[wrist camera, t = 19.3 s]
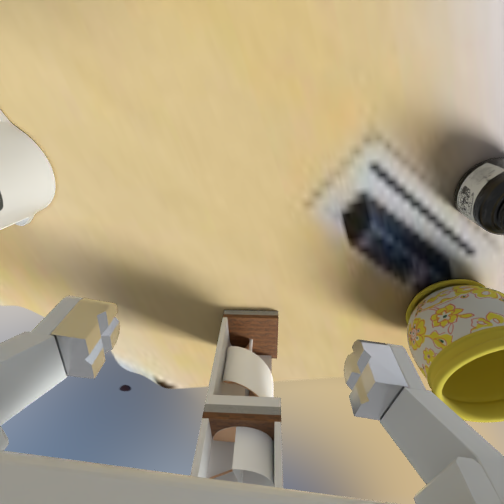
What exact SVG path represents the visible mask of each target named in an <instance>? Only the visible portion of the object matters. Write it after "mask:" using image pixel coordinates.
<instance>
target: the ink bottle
mask: <svg viewBox="0 0 504 504" xmlns="http://www.w3.org/2000/svg"><path fill="white" fill-rule="evenodd" d="M455 205H456V207H457V209H458V210H459V212H461V213H462V214H463V215H464V216H466V217H467V218H469V219H470V220H472V221H473V222H474V223H476V224H477V225H479V226H480V227H482V228H483V229H485V230H486V231H488V232H490V233H493V234H497V235H504V158H495V159H490V160H487V161H484V162H482V163H480V164H478V165H476V166H474V167H473V168H471V169H470V170H469V171H468V172H467V173H466V174H465V175H464V176H463V177H462V179H461V180H460V182H459V184H458V186H457V188H456V192H455Z"/></svg>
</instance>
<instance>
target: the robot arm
mask: <svg viewBox="0 0 504 504" xmlns="http://www.w3.org/2000/svg"><path fill="white" fill-rule="evenodd" d="M55 187H56V186H55V177H54V173H53V170H52V167H51V165H50V163H49V161H48V159H47V158H46V156H45V154H44V153H43V152H42V150H41V149H40V148H39V146H38V145H37V144H36V143H35V142H34V141H33V140H32V139H31V138H30V137H29V136H28V135H26V134H25V133H24V132H23V131H21V130H20V129H18V128H17V127H16V126H14V125H13V124H12V123H11V122H10V121H9V120H8V119H7V117H6V116H5V115H4V113H3V112H2V111H1V110H0V230H1V229H4V228H6V227H8V226H11V225H13V224H16V225H20V226H24V225H26V224H29V223H30V222H31V220H32V219H33V217H34V215H35V214H36V213H37V212H38V211H40V210H42V209H44V208H46V207H47V206H48V205H49V204H50V203H51V201H52V199H53V197H54V194H55ZM117 312H118V309H117V304H115V303H111V302H105V301H100V300H94V299H88V298H81V297H75V296H70V295H69V296H67V297H64V298H63V299H62V300H61V301H60V302H59V303H58V304H57V305H56V306H55V308H54V309H53V310H52V311H51V312H50V313H49V314H48V315H47V316H46V317H45V318H44V319H43V320H42V321H41V322H40V323H39V324H38V325H37V326H36V327H35V328H34V329H33V330H32V331H31V332H24V333H22V334H19V335H17V336H15V337H13V338H11V339H8V340H6V341H4V342H2V343H0V504H394V503H387V502H379V501H373V500H365V499H358V498H350V497H342V496H336V495H328V494H321V493H313V492H306V491H299V490H291V489H284V488H276V487H269V486H262V485H254V484H247V483H239V482H232V481H225V480H217V479H210V478H202V477H195V476H187V475H180V474H173V473H165V472H158V471H150V470H143V469H135V468H128V467H121V466H113V465H106V464H99V463H91V462H84V461H76V460H69V459H61V458H54V457H47V456H39V455H32V454H23V453H16V452H9V451H4V449H5V448H6V447H7V445H8V444H9V442H8V437H7V436H6V434H5V432H4V431H3V429H2V428H1V425H2V424H4V423H5V422H6V421H8V420H9V419H10V418H12V417H13V416H14V415H16V414H17V413H19V412H20V411H21V410H23V409H24V408H25V407H27V406H28V405H30V404H31V403H32V402H34V401H35V400H37V399H38V398H39V397H40V396H42V395H43V394H45V393H46V392H47V391H49V390H50V389H52V388H53V387H54V386H56V385H57V384H58V383H60V382H61V381H63V380H64V379H65V378H67V376H74V377H83V378H91V379H95V377H96V376H97V374H98V372H99V371H100V369H101V367H102V366H103V364H104V362H105V356H104V354H105V353H107V352H109V351H110V350H112V349H113V347H114V345H115V344H116V342H117V339H118V335H119V330H120V324H119V321H118V320H117V319H116V317H115V315H116V314H117ZM352 349H353V353H351V354H350V355H348V356H347V358H346V361H345V365H344V377H345V381H346V384H347V385H348V386H349V388H350V389H351V390H352V392H351V393H350V395H349V398H350V402H351V406H352V409H353V414H354V416H357V417H362V418H368V419H374V420H380V423H381V424H382V426H383V427H384V428H385V430H386V431H387V432H388V434H389V435H390V436H391V438H392V439H393V440H394V442H395V443H396V444H397V446H398V447H399V448H400V450H401V451H402V452H403V454H404V455H405V457H406V458H407V459H408V460H409V462H410V463H411V465H412V466H413V467H414V468H415V470H416V471H417V473H418V474H419V475H420V477H421V478H422V479H423V481H424V482H425V483H426V486H425V487H423V488H422V489H421V490H420V491H419V492H418V493H417V494H416V495H415V497H414V500H415V503H416V504H504V456H503V455H502V454H501V453H500V452H498V451H497V450H496V449H495V448H494V447H493V446H492V445H491V444H490V443H488V442H487V441H486V440H485V439H484V438H483V437H482V436H481V435H479V434H478V433H477V432H476V431H475V430H474V429H473V428H472V427H470V426H469V425H468V424H467V423H466V422H465V421H464V420H463V419H462V418H460V417H459V416H458V415H457V414H456V413H455V412H454V411H453V410H451V409H450V408H449V407H448V406H447V405H446V404H445V403H444V402H443V401H441V400H440V399H439V398H438V397H437V396H436V395H435V394H434V393H432V392H431V391H428V390H426V389H425V387H424V385H423V383H422V381H421V379H420V377H419V375H418V373H417V371H416V369H415V367H414V365H413V363H412V361H411V359H410V357H409V356H408V354H407V352H406V350H405V348H404V347H403V346H400V345H393V344H385V343H379V342H372V341H365V340H356V341H355V342H354V344H353V346H352Z"/></svg>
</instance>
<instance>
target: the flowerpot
mask: <svg viewBox="0 0 504 504" xmlns="http://www.w3.org/2000/svg"><path fill="white" fill-rule="evenodd" d="M406 323H407V325H408V328H407V338H408V344H409V348H410V351H411V353H412V356H413V358H414V360H415V362H416V363H417V365H418V367H419V369H420V370H421V372H422V373H423V374H424V376H425V377H426V379H427V380H428V384H429V386H430V388H431V389H432V393H434V394H435V395H436V396H437V397H438V398H439V399H440V400H441V401H443V402H444V403H445V404H446V405H447V406H448V407H449V408H450V409H451V410H453V411H454V412H455V413H456V414H457V415H458V416H459V417H460V418H462V419H463V420H466V421H472V422H500V421H504V294H503V293H501V292H498V291H496V290H493V289H489V288H486V287H485V286H484V285H482V284H480V283H478V282H476V281H472V280H466V279H453V280H445V281H440V282H437V283H434V284H432V285H430V286H428V287H426V288H424V289H423V290H422V291H420V292H419V293H418V294H417V295H416V296H415V297H414V298H413V300H412V301H411V303H410V304H409V306H408V308H407V311H406Z"/></svg>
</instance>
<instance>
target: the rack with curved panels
mask: <svg viewBox="0 0 504 504" xmlns="http://www.w3.org/2000/svg"><path fill="white" fill-rule="evenodd" d="M277 342H278V311H247V310H224V314H223V319H222V324H221V329H220V334H219V338H218V343H217V348H216V353H215V358H214V363H213V368H212V373H211V378H210V382H209V387H208V392H207V397H206V402H205V407H204V412H203V417H202V422H201V426H200V432H199V436H198V441H197V446H196V451H195V456H194V460H193V465H192V470H191V475H190V476H195V477H202V478H210V479H217V480H225V481H232V482H239V483H247V484H254V485H262V486H269V487H276V488H283V471H282V470H283V469H282V468H283V467H282V432H281V398H278V397H273V377H272V374H271V358H277Z"/></svg>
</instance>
